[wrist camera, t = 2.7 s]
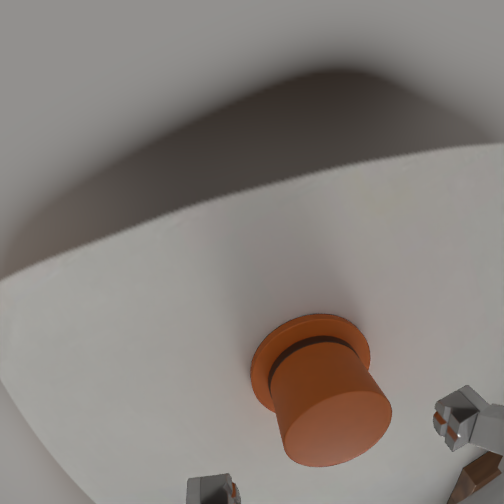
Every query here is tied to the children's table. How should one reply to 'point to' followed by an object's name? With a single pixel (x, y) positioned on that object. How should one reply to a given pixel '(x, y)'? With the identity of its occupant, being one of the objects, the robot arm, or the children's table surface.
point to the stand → (476, 476)
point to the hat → (320, 390)
